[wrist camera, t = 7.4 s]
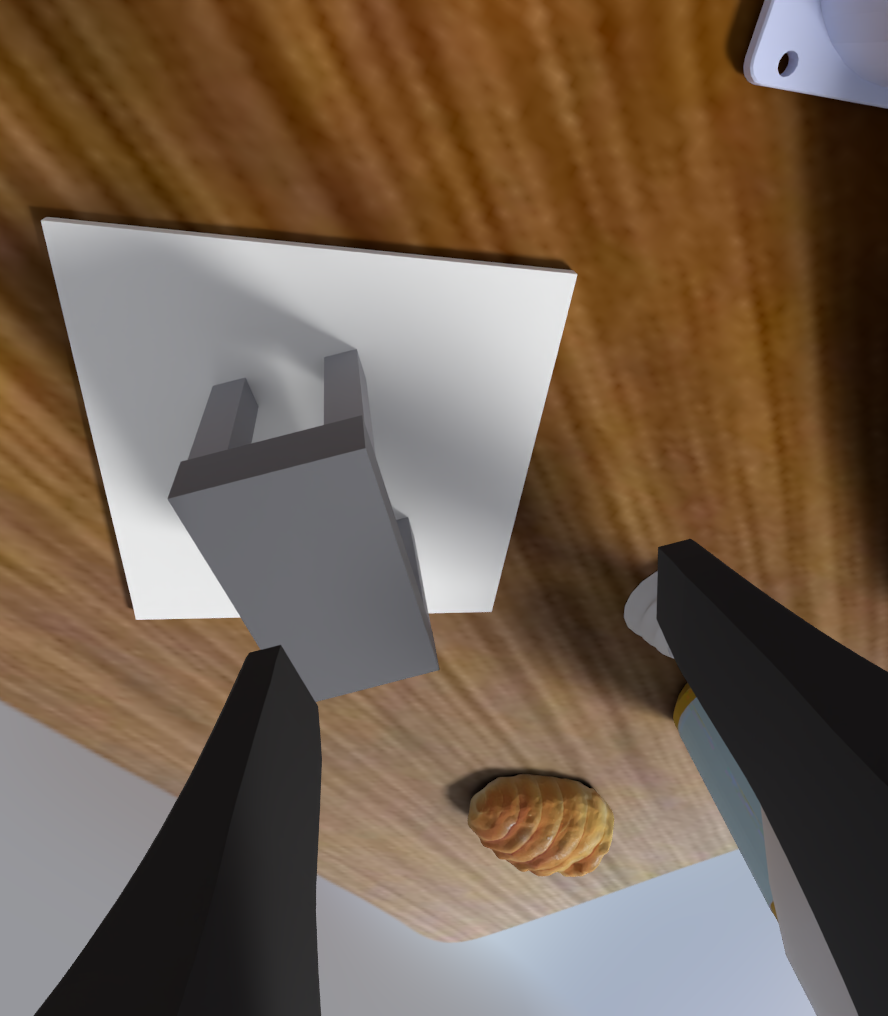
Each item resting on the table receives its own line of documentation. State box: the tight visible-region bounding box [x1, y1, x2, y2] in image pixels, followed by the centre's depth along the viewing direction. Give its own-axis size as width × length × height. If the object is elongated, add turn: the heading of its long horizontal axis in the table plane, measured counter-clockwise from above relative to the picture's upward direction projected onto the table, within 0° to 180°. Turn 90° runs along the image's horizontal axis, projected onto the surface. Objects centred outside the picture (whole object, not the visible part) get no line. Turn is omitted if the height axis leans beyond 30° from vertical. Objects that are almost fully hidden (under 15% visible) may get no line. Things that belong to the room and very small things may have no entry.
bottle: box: [673, 683, 778, 921], centre depth 27 cm, size 7×7×15 cm
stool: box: [167, 349, 439, 702], centre depth 18 cm, size 8×4×6 cm, turn 11°
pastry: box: [468, 774, 614, 877], centre depth 36 cm, size 9×7×4 cm
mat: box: [41, 217, 577, 620], centre depth 20 cm, size 14×14×1 cm
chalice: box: [624, 571, 858, 1016], centre depth 21 cm, size 7×7×18 cm
